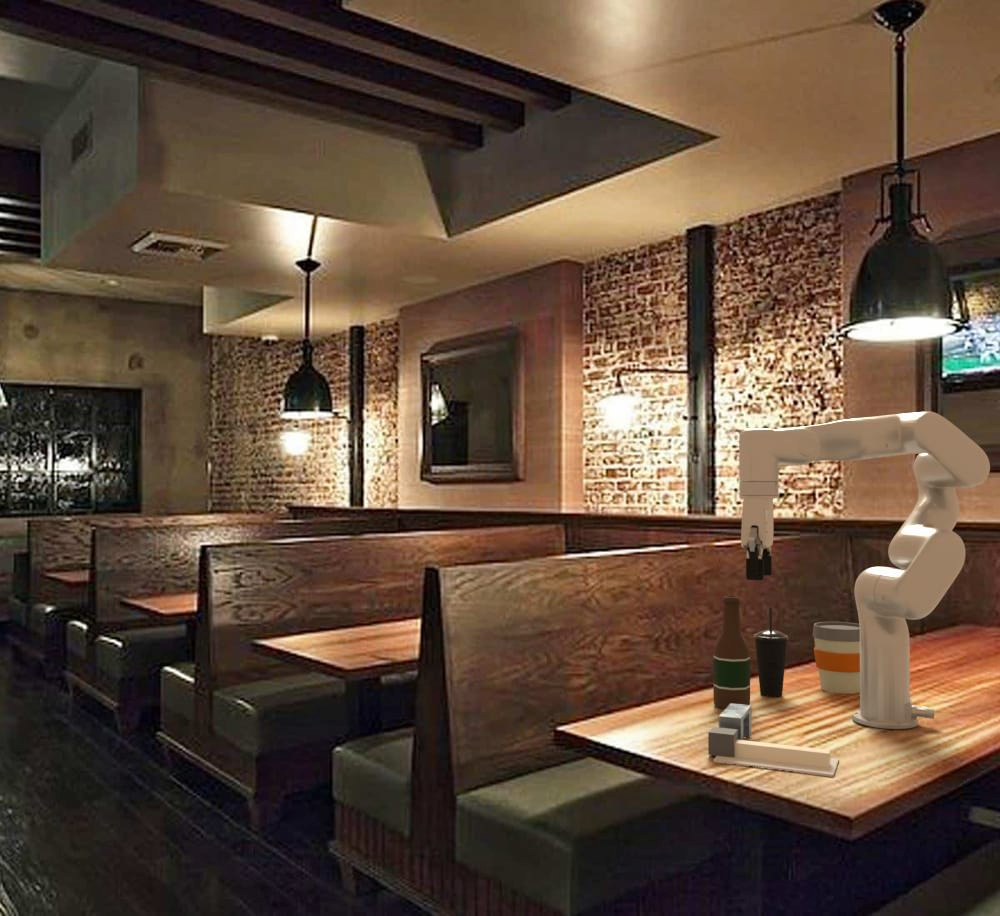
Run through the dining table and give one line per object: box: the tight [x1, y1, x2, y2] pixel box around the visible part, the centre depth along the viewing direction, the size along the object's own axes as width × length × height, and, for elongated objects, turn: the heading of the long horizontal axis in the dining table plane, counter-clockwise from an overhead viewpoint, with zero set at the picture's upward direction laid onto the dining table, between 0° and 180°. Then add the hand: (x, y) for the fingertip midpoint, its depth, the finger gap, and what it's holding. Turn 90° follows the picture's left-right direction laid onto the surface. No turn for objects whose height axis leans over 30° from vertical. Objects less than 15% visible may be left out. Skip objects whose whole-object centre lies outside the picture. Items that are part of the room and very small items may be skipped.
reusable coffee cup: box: [812, 621, 860, 695], centre depth 226 cm, size 13×13×15 cm
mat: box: [712, 755, 840, 778], centre depth 169 cm, size 20×10×1 cm, turn 65°
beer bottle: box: [712, 595, 751, 710], centre depth 209 cm, size 8×8×24 cm
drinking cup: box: [753, 607, 789, 698], centre depth 220 cm, size 8×8×20 cm
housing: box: [718, 703, 753, 740], centre depth 182 cm, size 4×11×6 cm, turn 155°
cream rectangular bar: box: [707, 726, 832, 768], centre depth 170 cm, size 20×4×4 cm, turn 66°
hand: (759, 577), depth 189 cm, fingers open, 9 cm apart
